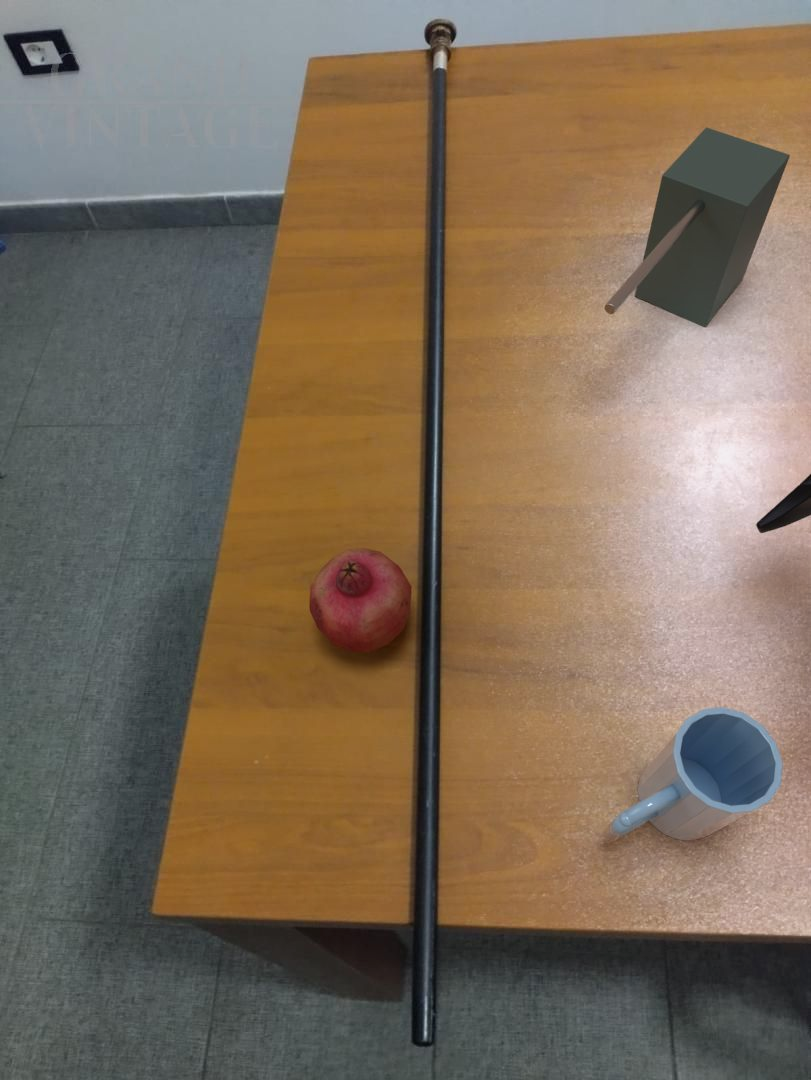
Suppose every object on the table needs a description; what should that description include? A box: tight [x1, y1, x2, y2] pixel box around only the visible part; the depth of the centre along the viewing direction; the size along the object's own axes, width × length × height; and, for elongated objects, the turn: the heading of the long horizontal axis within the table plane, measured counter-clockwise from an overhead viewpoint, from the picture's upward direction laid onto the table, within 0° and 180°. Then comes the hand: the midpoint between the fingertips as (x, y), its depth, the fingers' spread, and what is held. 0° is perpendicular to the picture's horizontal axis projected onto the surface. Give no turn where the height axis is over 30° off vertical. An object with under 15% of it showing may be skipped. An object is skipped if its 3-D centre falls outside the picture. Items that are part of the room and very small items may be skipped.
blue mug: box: [603, 706, 784, 843], centre depth 48 cm, size 10×6×12 cm, turn 117°
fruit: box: [308, 547, 413, 653], centre depth 59 cm, size 8×8×10 cm
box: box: [604, 127, 791, 328], centre depth 69 cm, size 8×23×14 cm, turn 142°
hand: (792, 592), depth 45 cm, fingers open, 9 cm apart
